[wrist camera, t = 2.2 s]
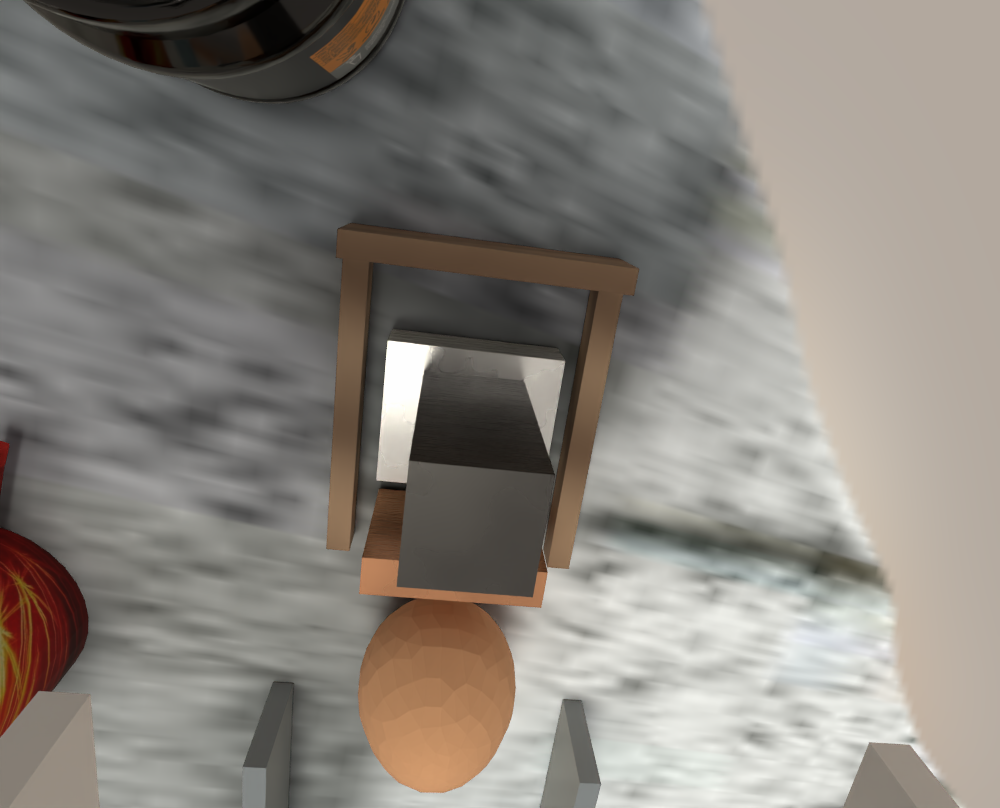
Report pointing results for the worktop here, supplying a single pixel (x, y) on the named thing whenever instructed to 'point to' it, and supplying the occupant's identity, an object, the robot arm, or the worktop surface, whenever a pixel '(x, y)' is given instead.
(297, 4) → the supplement container
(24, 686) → the mug
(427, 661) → the egg
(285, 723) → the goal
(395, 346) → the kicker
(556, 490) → the rail
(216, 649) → the worktop surface
